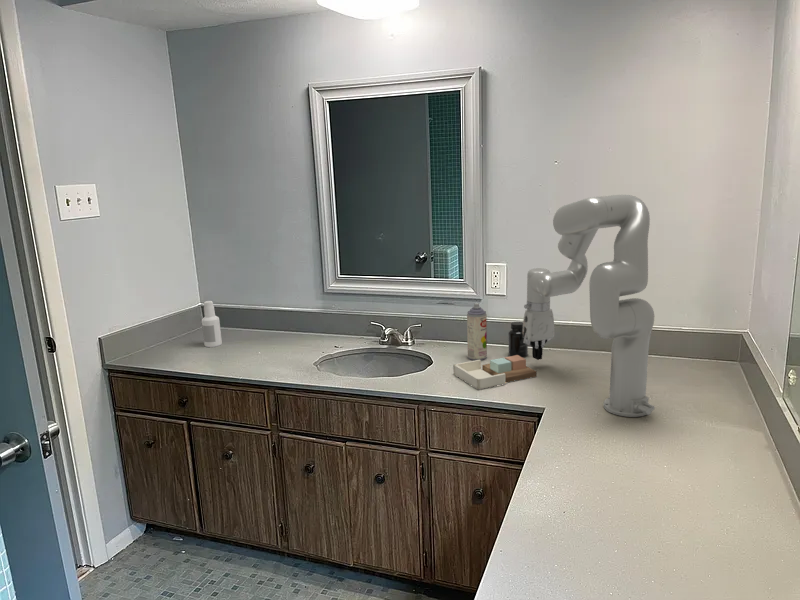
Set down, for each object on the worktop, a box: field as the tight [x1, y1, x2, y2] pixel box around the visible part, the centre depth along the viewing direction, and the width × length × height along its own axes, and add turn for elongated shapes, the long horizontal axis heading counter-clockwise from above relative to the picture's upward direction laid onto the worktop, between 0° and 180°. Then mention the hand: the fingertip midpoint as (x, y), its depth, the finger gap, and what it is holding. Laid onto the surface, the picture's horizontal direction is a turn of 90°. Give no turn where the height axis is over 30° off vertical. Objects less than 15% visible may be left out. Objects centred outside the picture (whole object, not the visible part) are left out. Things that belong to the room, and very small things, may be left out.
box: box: [452, 360, 506, 391], centre depth 199 cm, size 16×10×4 cm, turn 23°
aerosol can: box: [466, 302, 488, 361], centre depth 218 cm, size 7×7×20 cm
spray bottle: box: [201, 300, 223, 348], centre depth 247 cm, size 7×7×18 cm
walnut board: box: [481, 363, 537, 383], centre depth 204 cm, size 14×12×2 cm
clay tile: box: [504, 355, 527, 370], centre depth 204 cm, size 5×5×3 cm
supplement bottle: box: [507, 321, 529, 358], centre depth 220 cm, size 7×7×12 cm
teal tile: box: [489, 357, 511, 373], centre depth 202 cm, size 5×5×3 cm
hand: (537, 358), depth 208 cm, fingers closed
